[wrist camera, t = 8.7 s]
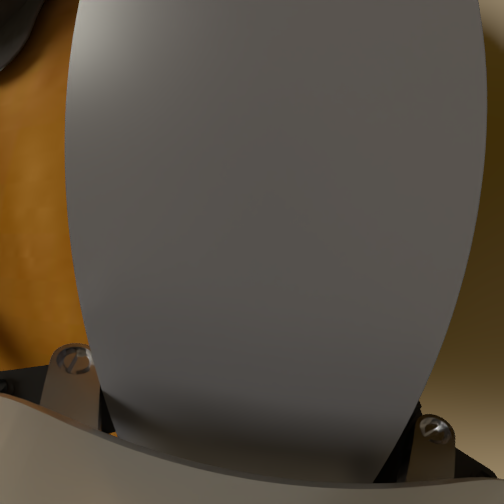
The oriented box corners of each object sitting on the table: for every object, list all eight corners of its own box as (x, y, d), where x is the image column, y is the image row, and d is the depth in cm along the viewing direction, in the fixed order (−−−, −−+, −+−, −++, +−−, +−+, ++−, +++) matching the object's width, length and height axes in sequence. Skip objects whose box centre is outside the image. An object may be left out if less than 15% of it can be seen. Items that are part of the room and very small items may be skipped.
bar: (196, 44, 9) (93, -53, 3) (370, 54, 9) (469, -38, 2) (202, 453, 16) (175, 554, 9) (306, 463, 15) (305, 567, 9)
